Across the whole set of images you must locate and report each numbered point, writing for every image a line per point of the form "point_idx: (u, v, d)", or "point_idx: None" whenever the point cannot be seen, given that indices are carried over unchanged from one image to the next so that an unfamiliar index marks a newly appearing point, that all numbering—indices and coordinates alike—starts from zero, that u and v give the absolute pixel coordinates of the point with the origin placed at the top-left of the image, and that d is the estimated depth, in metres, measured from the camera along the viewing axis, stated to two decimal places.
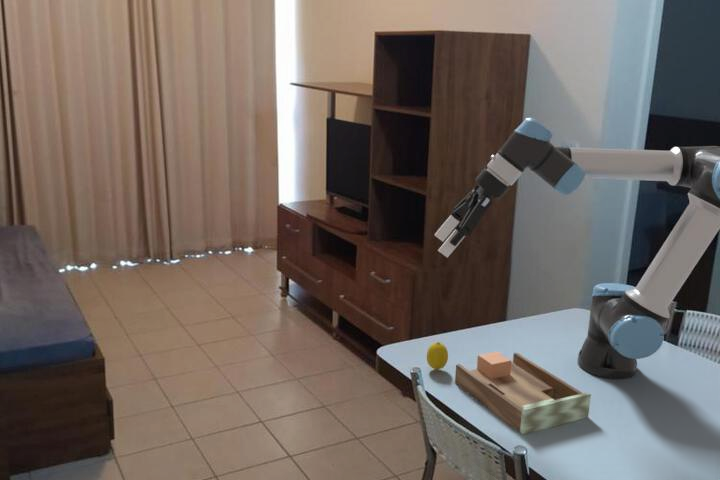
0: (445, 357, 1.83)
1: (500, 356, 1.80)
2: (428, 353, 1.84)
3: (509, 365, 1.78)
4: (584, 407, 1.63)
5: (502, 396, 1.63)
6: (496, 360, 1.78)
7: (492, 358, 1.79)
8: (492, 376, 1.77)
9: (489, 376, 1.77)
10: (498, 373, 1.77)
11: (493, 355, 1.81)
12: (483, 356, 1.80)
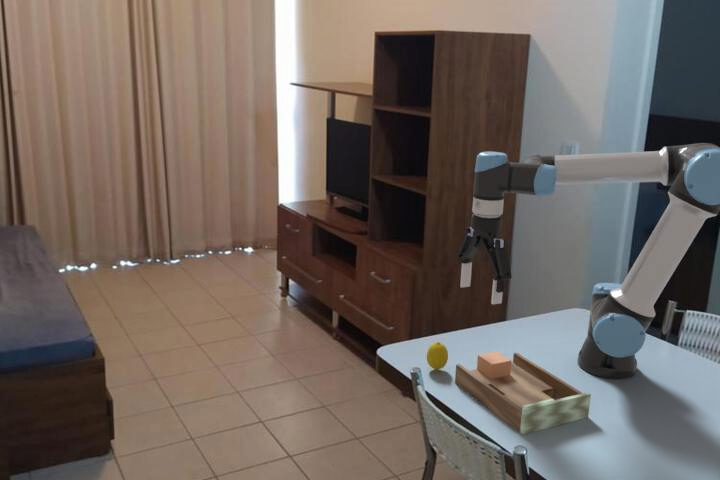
0: (445, 357, 1.83)
1: (500, 356, 1.80)
2: (428, 353, 1.84)
3: (509, 365, 1.78)
4: (584, 407, 1.63)
5: (502, 396, 1.63)
6: (496, 360, 1.78)
7: (492, 358, 1.79)
8: (492, 376, 1.77)
9: (489, 376, 1.77)
10: (498, 373, 1.77)
11: (493, 355, 1.81)
12: (483, 356, 1.80)
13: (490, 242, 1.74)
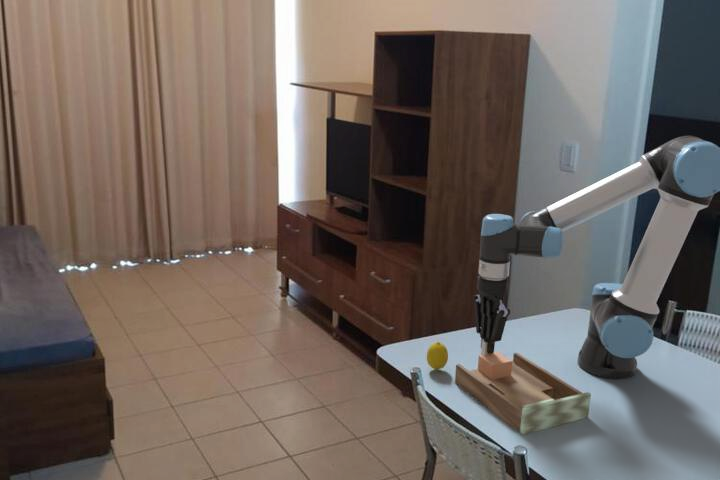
0: (445, 357, 1.83)
1: (501, 356, 1.80)
2: (428, 353, 1.84)
3: (510, 366, 1.78)
4: (584, 407, 1.63)
5: (502, 396, 1.63)
6: (497, 360, 1.78)
7: (493, 359, 1.79)
8: (493, 377, 1.76)
9: (490, 377, 1.77)
10: (498, 374, 1.77)
11: (494, 355, 1.80)
12: (484, 357, 1.79)
13: (495, 305, 1.75)
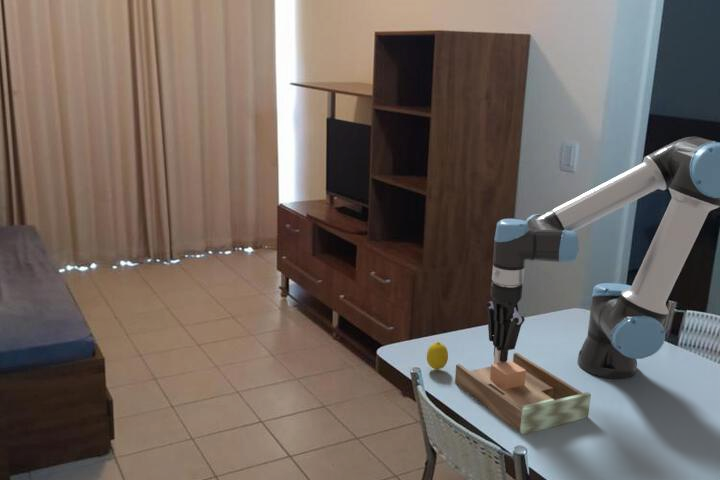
0: (445, 357, 1.83)
1: (514, 365, 1.75)
2: (428, 353, 1.84)
3: (523, 375, 1.73)
4: (584, 407, 1.63)
5: (502, 396, 1.63)
6: (510, 369, 1.73)
7: (506, 368, 1.74)
8: (506, 386, 1.71)
9: (503, 386, 1.72)
10: (512, 383, 1.72)
11: (507, 364, 1.76)
12: (497, 366, 1.75)
13: (509, 312, 1.70)
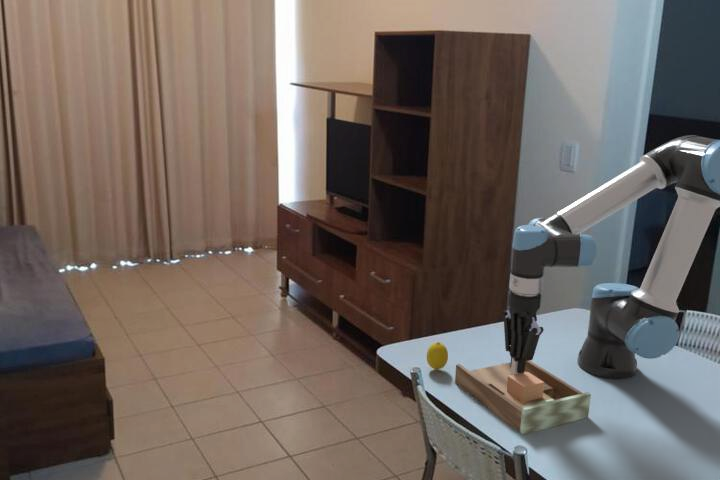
0: (445, 357, 1.83)
1: (532, 377, 1.69)
2: (428, 353, 1.84)
3: (541, 387, 1.67)
4: (584, 407, 1.63)
5: (502, 396, 1.63)
6: (528, 381, 1.67)
7: (523, 379, 1.68)
8: (524, 399, 1.65)
9: (520, 399, 1.66)
10: (529, 396, 1.66)
11: (524, 376, 1.70)
12: (513, 377, 1.69)
13: (527, 322, 1.64)
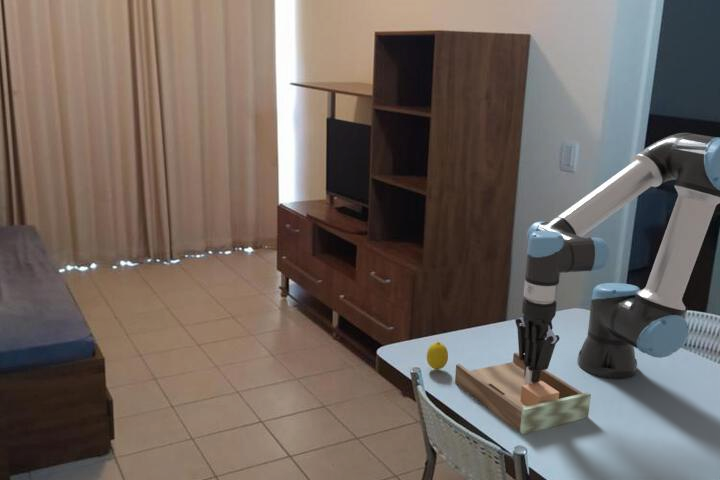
0: (445, 357, 1.83)
1: (546, 387, 1.64)
2: (428, 353, 1.84)
3: (557, 397, 1.62)
4: (584, 407, 1.63)
5: (502, 396, 1.63)
6: (543, 391, 1.62)
7: (538, 389, 1.63)
8: None
9: None
10: None
11: (539, 385, 1.65)
12: (528, 387, 1.64)
13: (543, 331, 1.60)
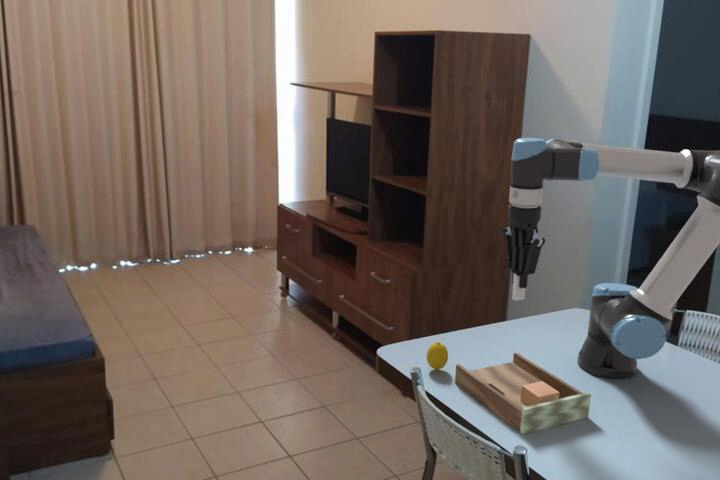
0: (445, 357, 1.83)
1: (546, 387, 1.64)
2: (428, 353, 1.84)
3: (557, 397, 1.62)
4: (584, 407, 1.63)
5: (502, 396, 1.63)
6: (543, 391, 1.62)
7: (538, 389, 1.63)
8: None
9: None
10: None
11: (539, 385, 1.65)
12: (528, 387, 1.64)
13: (529, 234, 1.65)
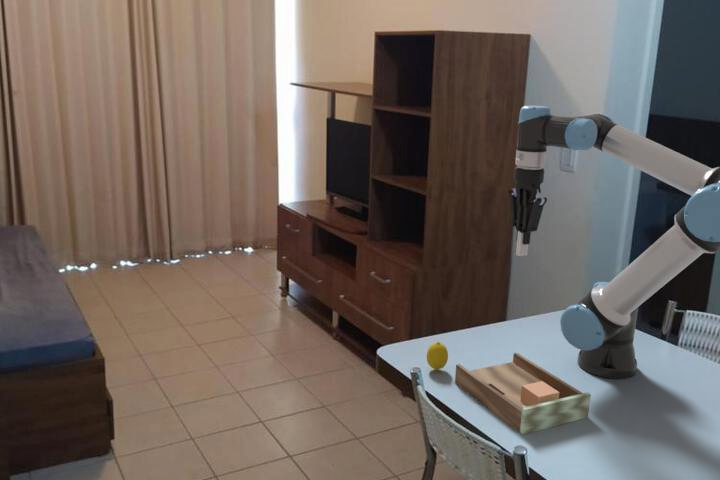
0: (445, 357, 1.83)
1: (546, 387, 1.64)
2: (428, 353, 1.84)
3: (557, 397, 1.62)
4: (584, 407, 1.63)
5: (502, 396, 1.63)
6: (543, 391, 1.62)
7: (538, 389, 1.63)
8: None
9: None
10: None
11: (539, 385, 1.65)
12: (528, 387, 1.64)
13: (532, 194, 1.80)
